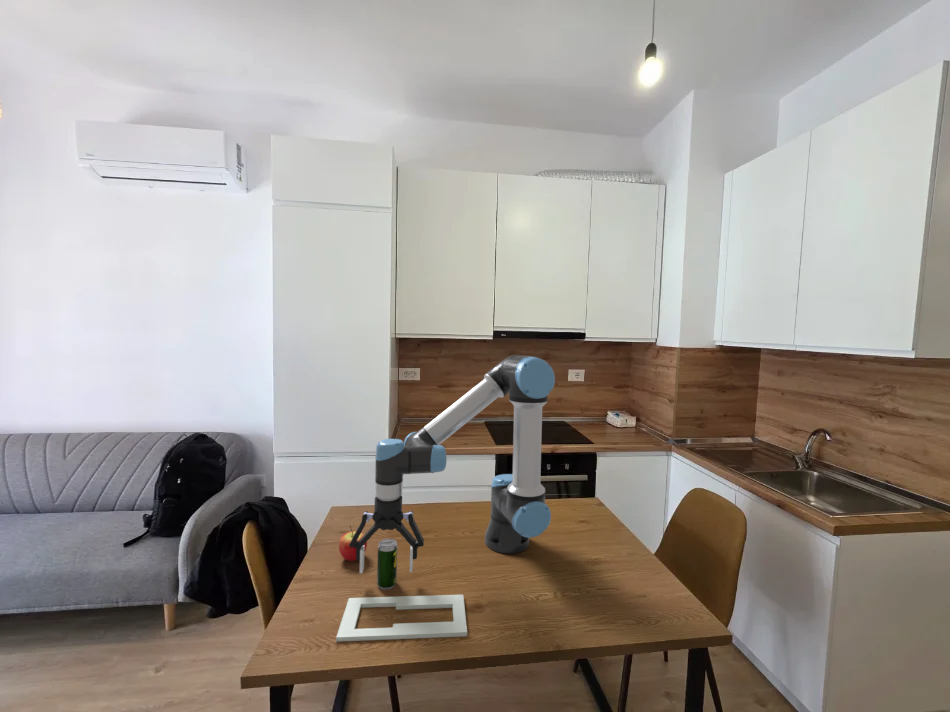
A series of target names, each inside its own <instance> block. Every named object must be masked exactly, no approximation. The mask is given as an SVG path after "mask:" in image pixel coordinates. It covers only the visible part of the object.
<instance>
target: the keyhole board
mask: <svg viewBox="0 0 950 712" xmlns="http://www.w3.org/2000/svg"><path fill="white" fill-rule="evenodd" d="M464 597H465V596H464V594H441V595H439V594H437V595H434V594H433V595H409V596H408V595H407V596H406V595H404V596H403V595H401V596H400V595H399V596H378V597H376V596H375V597H374V596H372V597H371V596H370V597H349V598H348V599H347V603H346V607H345V610H344V612H343V615H342V618H341V620H340V621H341V622H340V624H339V628H338V631H337V634H336V636H335V639H336V642H358V641H360V642H361V641H362V642H363V641H382V640H383V641H384V640H405V639H406V640H408V639H410V640H411V639H430V638H431V639H432V638H433V639H434V638H435V639H437V638H454V637H455V638H456V637H459V638H460V637H468V627H467V620H466V619H467V618H466V617H467V616H466V609H465V599H464ZM391 607H395V610H398V611H399V610H423V609H424V610H425V609H426V610H429V609H430V610H431V609H451V608H452V619H453V620H452V621H435V622H433V621H432V622H430V621H429V622H404V623H403V622H402V623H401V622H400V623H393V624H392V627H374V628H373V627H371V628H370V627H368V628H367V627H366V628H356V627H357V624H358V619H359V615H360V612H361V609H362V608H364V609H365V608H391Z"/></svg>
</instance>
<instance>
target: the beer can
mask: <svg viewBox="0 0 950 712" xmlns="http://www.w3.org/2000/svg"><path fill="white" fill-rule="evenodd" d="M376 565H377V568H376V569H377V570H376V572H377V573H376V584H377V586H378V588H379V589H380V590H384V591H386V590H387V591H388V590H391V589H393V588H395V586H397V585H396V584H397V579H398V577H397V576H398V544H397V540H396V539H393V538H384V539H382V540H380V541H379V542H378V545H377V564H376Z"/></svg>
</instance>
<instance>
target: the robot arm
mask: <svg viewBox="0 0 950 712" xmlns="http://www.w3.org/2000/svg"><path fill="white" fill-rule="evenodd" d="M555 383H556V376H555V372H554V369H553V368H552V366H551V365H550V364H549V363H548V362H547V361H546V360H544V359H542V358H539V357H536V356H529V355H522V354H514V355H509V356H507V357H506V358H505V359H502V360H501V361H500V362H499V363H497V364H496V365H494V367H493V368H491V369H490V370H489V371H487V372H486V373H485V374H484V377H483V379H482V380H481V381H480V382H479V383H477V384H476V385H474V387H472V388H471V389H470V390H468V391H467V392H466V393H465V394H464V395H462V396H461V397H460V398H459V399H458V400H456V401H455V402H453V403H452V404H451V405H450V406H448V407H447V408H446V409H445V410H444V411H442V412H441V413H439V414H438V415H437V416H436V417H435V418H433V419H432V420H431V421H430V422H429V423H427V424H426V425H424V427H422V428H420V429H419V430H418V431H413V432H410V433H408V435H407V436H405V438H404V441H403V440H402V439H400V438H386V439H382V440H381V439H380V440H379V441H378V442H377V444H376V449H375V467H374V468H375V469H374V470H375V477H374V479H375V481H374V511H373V513H372V512H369V511H367V510H365V511H363V514H362V517H361V521H360V524H359V525H358V527H357V528H356V530H355V531H356V533H355V534H354V536H353V538H352V540H351V542H350V545H349V546H350V547H351V548H352V547H354V548H356V560H355V561H359V574H363V572H364V569H365V552H364V549H365V545H364V544H365V543H366V542H367V543H368V541H369V540H370V538H371V537H372V536H373V535H374V534H375V533H376V532H377V531H378V530H379V529H380V530H381V531H386V530H388V531H394V530H396V531H397V532H398V533H400V535H401V536H402V537H403V538H404V539H405V541H406V542H407V543H408V544H409V545H410V548H409V570H408V571H409V573H413V568H414V567H413V566H414V560H417V559H418V548H419V547H421V548H422V547H424V545H425V544H424V543H425V539H424V536H423V535H422V533H421V531H420V529H419V527H418V524H417V522H416V521H415V518H414V511H413V510H410V511H408V512H403V492H404V491H403V488H404V487H403V484H404V483H403V482H404V475H414V474H415V475H417V474H418V475H419V474H434V473H440V472H443V471H445V469H446V466H447V451H446V449H445V447H444V446H443V445H441V444H442V443H444V441H446V440H447V439H448V438H450V437H451V436H452V435H453V434H455V433H456V432H457V431H458V430H460V429H461V428H462V427H463V426H464V425H466V424H468V422H470V421H471V420H472V419H474V417H476V416H477V415H478V414H480V413H481V412H482V411H483V410H485V408H487V407H488V406H489V405H490V404H492V403H493V402H494V401H496V400H497V399H498V398H504V397H506V396H507V395H508V394H509V395H508V398H509V399H508V401H509V402H510V403H511V404H512V405H513V435H512V438H513V439H512V443H513V444H512V446H513V448H512V473H502V474H498V475H495V476H494V477H493V478H492V481H491V486H490V487H491V492H490V493H491V494H490V495H491V498H490V518H489V519H490V520H489V522H488V526H487V528H486V531H485V534H484V543H485V545H486V546H487V547H488V548H489V549H490V550H492V551H495V552H498V553H501V554H502V553H503V554H510V555H511V554H518V553H522V552H524V551H526V550H527V549H528V548H529V546H530V538H536V537H538V536H539V535H542V534H543V533H544V531H546V530H547V529H548V527H549V525H550V523H551V519H552V513H551V509H550V507H549V506H548V504H546V487H544V485H543V484H542V483H541V472H542V471H541V468H542V466H541V465H542V438H543V437H542V432H543V431H542V430H543V429H542V427H543V407H544V406H545V405H546V404H547V403H548V400H549V399H548V398H549V397H548V396H549V394H551V393H550V392H551V391H552V390H553V389H554V386H555ZM371 519H372V520H373V522H374V523H373V525H372V526H371V527H370V528H369V529H368V530H367V531H366V533H365V534H364V536H363V537H362V538H361V539H360V540H359V541H357V539H358V537H359V535H360V534H361V533H363V530H364V528H365V527H366V524H367V523H368V522H370V521H371ZM403 519H405V521H406V522H408V524H409V527H410V529H411V531H412V533H413V534H412V533H411V532H410V531H409V530H408V529H407V528H406V526H404V523H403V522H402V521H403ZM413 535H414V536H413Z"/></svg>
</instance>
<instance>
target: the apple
mask: <svg viewBox="0 0 950 712" xmlns="http://www.w3.org/2000/svg"><path fill="white" fill-rule="evenodd" d="M349 528H350V531H348V532H346V533H344V534H343V535H342V536H341V537H340V539H339V542H338V548H339V549H338V550H339V553H340V555H341V557H342V558H343V559H344V560H346V561H348V562H354V561H357V560H356V548H354V547H352V548H351V547H350V546H349V545H350V542H351V540H352V538H353V536H354V534H355V533H356V531H357V530H353V529H352V526H351V525H349ZM364 535H365V534H364V533H363V532H361V534H360V535H359V537H358V539H357V541H359V540H360V539H361V538H362V537H363V536H364ZM364 545H365V549H364V553H365V552H366V551H367V547H368V546H367V545H368V541H367V542H366V543H365V544H364Z"/></svg>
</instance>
